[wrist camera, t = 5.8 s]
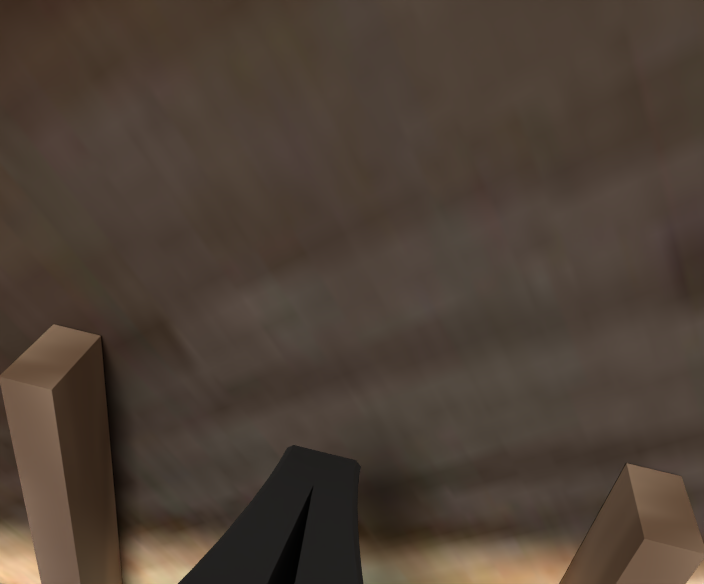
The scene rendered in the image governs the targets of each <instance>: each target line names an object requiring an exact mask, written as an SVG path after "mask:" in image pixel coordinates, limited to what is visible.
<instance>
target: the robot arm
mask: <svg viewBox="0 0 704 584" xmlns="http://www.w3.org/2000/svg"><path fill="white" fill-rule="evenodd" d="M360 468H361V466H360V465H359V464H358V462H357V461H356V460H352V459H348V458H344V457H340V456H336V455H332V454H328V453H324V452H320V451H316V450H312V449H308V448H303V447H299V446H295V445H293V446H291V447H288V448H287V449H286V451H285V453H284V455H283V456H282V458H281V460H280V461H279V463H278V465H277V466H276V468H275V469H274V471H273V472H272V474H271V475H270V477H269V478H268V479H267V481H266V482H265V484H264V485H263V486H262V488H261V489H260V490H259V492H258V493H257V494H256V496H255V497H254V498H253V500H252V501H251V502H250V503H249V505H248V506H247V507H246V508H245V510H244V511H243V512H242V513H241V514H240V516H239V517H238V518H237V519H236V521H235V522H234V523H233V524H232V526H231V527H230V528H229V529H228V530H227V531H226V533H225V534H224V535H223V536H222V537H221V538H220V539H219V541H218V542H217V543H216V544H215V545H214V546H213V547H212V548H211V549H210V550H209V551H208V553H207V554H206V555H205V556H204V557H203V558H202V559H201V560H200V561H199V562H198V563H197V564H196V566H195V567H194V568H193V569H192V570H191V571H190V572H189V573H188V574H187V575H186V576H185V577H184V578H183V579H182V580H181V581H180V582H179V583H178V584H363V577H362V568H361V558H360V548H359V536H358V512H357V498H358V481H359V473H360Z"/></svg>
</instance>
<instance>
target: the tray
mask: <svg viewBox="0 0 704 584" xmlns="http://www.w3.org/2000/svg"><path fill="white" fill-rule="evenodd" d="M0 385H1V389H2V394H3V399H4V404H5V409H6V414H7V419H8V423H9V428H10V433H11V438H12V443H13V448H14V453H15V457H16V462H17V467H18V472H19V477H20V482H21V487H22V491H23V496H24V501H25V506H26V511H27V516H28V520H29V525H30V530H31V535H32V540H33V545H34V550H35V554H36V559H37V564H38V569H39V574H40V579H41V584H122V573H121V561H120V550H119V539H118V527H117V516H116V504H115V493H114V481H113V470H112V459H111V447H110V436H109V424H108V413H107V401H106V390H105V379H104V367H103V356H102V344H101V336H100V335H96V334H91V333H87V332H83V331H79V330H75V329H71V328H67V327H63V326H58V325H54V324H53V325H52V326H51V327H50V328H49V329H48V330H47V331H46V332H45V333H44V334H43V335H42V336H41V337H40V338H39V339H38V340H37V341H36V342H35V343H34V344H32V345H31V346H30V347H29V348H28V349H27V350H26V351H25V352H24V353H23V354H22V355H21V356H20V357H19V358H18V359H17V360H16V361H15V362H14V363H13V364H12V365H10V366H9V367H8V368H7V369H6V370H5V371H4V372H3V373H2V374H1V375H0ZM703 559H704V544H703V541H702V538H701V535H700V531H699V528H698V525H697V522H696V519H695V516H694V513H693V510H692V507H691V504H690V501H689V498H688V495H687V492H686V489H685V486H684V483H683V480H682V477H681V476H678V475H674V474H669V473H665V472H661V471H657V470H653V469H649V468H645V467H641V466H636V465H632V464H628V463H626V465H625V467H624V469H623V470H622V472H621V474H620V476H619V478H618V479H617V481H616V483H615V485H614V487H613V488H612V490H611V492H610V494H609V496H608V497H607V499H606V501H605V503H604V505H603V506H602V508H601V510H600V512H599V514H598V516H597V517H596V519H595V521H594V523H593V525H592V526H591V528H590V530H589V532H588V534H587V535H586V537H585V539H584V541H583V543H582V544H581V546H580V548H579V550H578V552H577V553H576V555H575V557H574V559H573V561H572V563H571V564H570V566H569V568H568V570H567V572H566V573H565V575H564V577H563V579H562V581H561V582H560V584H686V582H687V581H688V580H689V578H690V577H691V576H692V574H693V573H694V572H695V570H696V569H697V568H698V566H699V565H700V563H701V562H702V561H703Z"/></svg>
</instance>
